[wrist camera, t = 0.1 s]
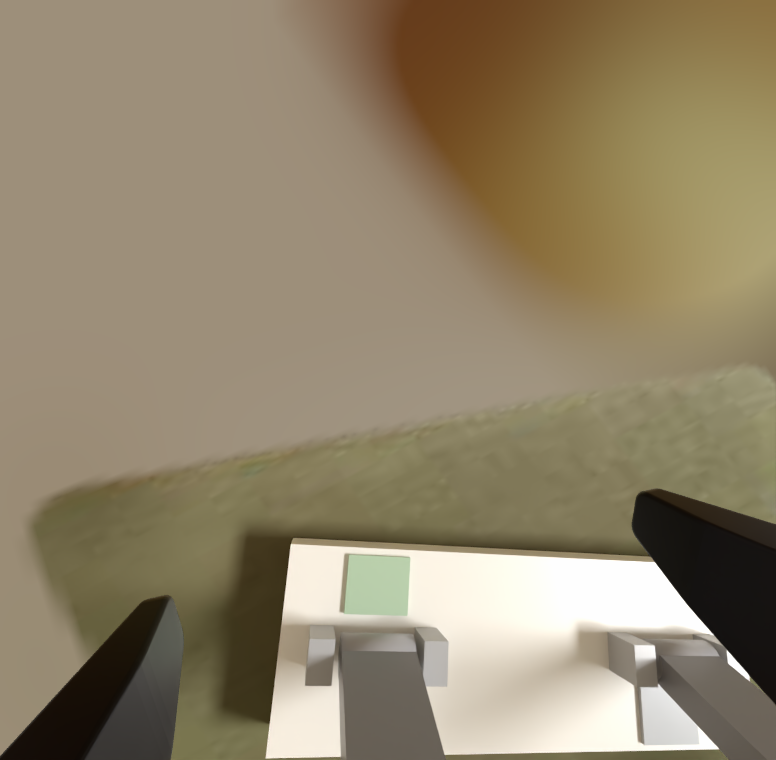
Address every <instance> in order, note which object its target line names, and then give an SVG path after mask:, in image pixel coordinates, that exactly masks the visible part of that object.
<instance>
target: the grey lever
mask: <svg viewBox="0 0 776 760" xmlns="http://www.w3.org/2000/svg"><path fill="white" fill-rule="evenodd" d="M642 640H644V641H646V642H648V643H650V644H653V645H655V653H656V666H657V679H658V684H659V685H660V686H661V687H662V688H663V690H664V691H665V692H666V693H667V694H668V695H669V696H670V697H671V698H672V699H673V700H674V701H675V702H676V703H677V704H678V706H679V707H680V708H681V709H682V710H683V711H684V712H685V713H686V714H687V715H688V716H689V717H690V718H691V719H692V720H693V722H694V723H695V724H696V725H697V726H698V727H699V728H700V729H701V730H702V731H703V732H704V733H705V734H706V735H707V736H708V738H709V739H710V740H711V741H712V742H713V743H714V744H715V745H716V746H717V747H718V748H719V749H720V750H721V751H722V752H723V754H724V755H725V756H726V757H727V758H728V759H729V760H776V705H775V704H774V703H773V702H772V701H771V699H770V698H769V697H768V696H767V695H766V694H764V693H763V692H762V691H761V690H760V689H758V688H757V687H756V686H755V685H753V684H752V683H751V682H750V681H749V680H747V679H746V678H745V677H744V676H743V675H741V674H740V673H739V672H738V671H737V670H735V669H734V668H733V667H732V666H731V665H729V664H728V663H727V662H726V661H725V660H723V659H722V658H721V657H720V656H719V654H718V653H717V651H716V650H715V648H714V647H713V646H712V645H711V644H710V643H708V642H707V641H704V640H684V639H642Z"/></svg>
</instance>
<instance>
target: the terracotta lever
mask: <svg viewBox="0 0 776 760" xmlns="http://www.w3.org/2000/svg"><path fill="white" fill-rule="evenodd" d="M338 679H339V710H340V748H341V760H446V758H445V755H444V751H443V747H442V744H441V740H440V736H439V733H438V729H437V725H436V722H435V718H434V714H433V711H432V707H431V703H430V700H429V696H428V692H427V689H426V685H425V681H424V678H423V674H422V670H421V667H420V663H419V659H418V656H417V652H416V642H415V638H414V635H413V634H402V633H356V632H341V635H340V642H339V654H338Z"/></svg>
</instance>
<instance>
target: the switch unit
mask: <svg viewBox="0 0 776 760" xmlns="http://www.w3.org/2000/svg"><path fill="white" fill-rule="evenodd" d="M341 632H356V633H402V634H413V635H414V638H415V642H416V652H417V656H418V659H419V663H420V667H421V670H422V674H423V678H424V681H425V685H426V689H427V692H428V696H429V700H430V703H431V707H432V711H433V714H434V718H435V722H436V725H437V729H438V733H439V736H440V740H441V744H442V747H443V751H444V755H452V754H502V753H552V752H602V751H652V750H702V749H719V748H718V747H717V746H716V745H715V744H714V743H713V742H712V741H711V740H710V739H709V738H708V736H707V735H706V734H705V733H704V732H703V731H702V730H701V729H700V728H699V727H698V726H697V725H696V724H695V723H694V722H693V720H692V719H691V718H690V717H689V716H688V715H687V714H686V713H685V712H684V711H683V710H682V709H681V708H680V707H679V706H678V704H677V703H676V702H675V701H674V700H673V699H672V698H671V697H670V696H669V695H668V694H667V693H666V692H665V691H664V690H663V688H662V687H661V686H660V685H659V684H658V679H657V666H656V653H655V645H653V644H650V643H648V642H646V641H644V640H642V639H684V640H704V641H707V642H708V643H710V644H711V645H712V646H713V647H714V648H715V650H716V651H717V653H718V654H719V656H720V657H721V658H722V659H723V660H725V661H726V662H727V663H728V664H729V665H731V666H732V667H733V668H734V669H735V670H737V671H738V672H739V673H740V674H741V675H743V676H744V677H745V678H746V679H747V680H749V675H748V673H747V672H746V671H745V670H744V669H743V668H742V667H741V666H740V664H739V663H738V662H737V661H736V660H735V659H734V658H733V657H732V655H731V654H730V653H729V652H728V651H727V650H726V649H725V648H724V646H723V645H722V644H721V643H720V642H719V641H718V640H717V638H716V637H715V636H714V635H713V634H712V633H711V632H710V631H709V629H708V628H707V627H706V626H705V625H704V624H703V623H702V622H701V620H700V619H699V618H698V617H697V616H696V615H695V614H694V612H693V611H692V610H691V609H690V608H689V607H688V605H687V604H686V603H685V602H684V600H683V599H682V598H681V597H680V595H679V594H678V593H677V591H676V590H675V589H674V587H673V586H672V585H671V583H670V582H669V581H668V579H667V578H666V577H665V575H664V574H663V573H662V571H661V570H660V569H659V567H658V566H657V565H656V563H655V562H654V561H653V559H652V558H651V557H649V556H630V555H611V554H592V553H573V552H554V551H535V550H516V549H498V548H479V547H460V546H441V545H422V544H403V543H384V542H365V541H346V540H327V539H308V538H293V540H292V542H291V547H290V556H289V564H288V573H287V582H286V590H285V599H284V607H283V616H282V624H281V633H280V641H279V650H278V658H277V667H276V675H275V684H274V693H273V701H272V710H271V718H270V727H269V735H268V744H267V752H266V758H303V757H341V748H340V710H339V679H338V654H339V642H340V635H341ZM749 681H750V680H749Z"/></svg>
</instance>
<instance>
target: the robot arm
mask: <svg viewBox="0 0 776 760" xmlns="http://www.w3.org/2000/svg"><path fill="white" fill-rule="evenodd" d="M632 530H633V533H634V535H635V537H636V538H637V540H638V541H639V542H640V544H641V545H642V546H643V548H644V549H645V550H646V551H647V553H648V554H649V555H650V557H651V558H652V559H653V561H654V562H655V563H656V565H657V566H658V567H659V569H660V570H661V571H662V573H663V574H664V575H665V577H666V578H667V579H668V581H669V582H670V583H671V585H672V586H673V587H674V589H675V590H676V591H677V593H678V594H679V595H680V597H681V598H682V599H683V600H684V602H685V603H686V604H687V605H688V607H689V608H690V609H691V610H692V611H693V612H694V614H695V615H696V616H697V617H698V618H699V619H700V620H701V622H702V623H703V624H704V625H705V626H706V627H707V628H708V629H709V631H710V632H711V633H712V634H713V635H714V636H715V637H716V638H717V640H718V641H719V642H720V643H721V644H722V645H723V646H724V648H725V649H726V650H727V651H728V652H729V653H730V654H731V655H732V657H733V658H734V659H735V660H736V661H737V662H738V663H739V664H740V666H741V667H742V668H743V669H744V670H745V671H746V672H747V673H748V675H749V676H750V677H751V678H752V679H753V680H754V681H755V683H756V684H757V685H758V686H759V687H760V688H761V689H762V690H763V692H764V693H765V694H766V695H767V696H768V697H769V698H770V699H771V701H772V702H773V703H774V704H775V705H776V524H773V523H770V522H766V521H763V520H760V519H757V518H753V517H750V516H747V515H744V514H740V513H737V512H734V511H731V510H727V509H724V508H721V507H718V506H714V505H711V504H708V503H705V502H701V501H698V500H695V499H692V498H688V497H685V496H682V495H679V494H675V493H672V492H669V491H666V490H662V489H651V490H646V491H642V492H640V493H639V494H638V495H637V496H636V500H635V507H634V513H633V519H632ZM183 647H184V636H183V630H182V626H181V623H180V620H179V616H178V613H177V610H176V606H175V603H174V600H173V598H172V597H171V596H169V595H164V596H160V597H155V598H150V599H147V600H144V601H143V602H141V603H140V604H139V605H138V606H137V607H136V608H135V610H134V611H133V612H132V613H131V614H130V615H129V616H128V617H127V618H126V619H125V620H124V622H123V623H122V624H121V625H120V626H119V627H118V628H117V629H116V630H115V631H114V632H113V634H112V635H111V636H110V637H109V638H108V639H107V640H106V641H105V642H104V643H103V644H102V646H101V647H100V648H99V649H98V650H97V651H96V652H95V653H94V654H93V655H92V656H91V658H90V659H89V660H88V661H87V662H86V663H85V664H84V665H83V666H82V667H81V668H80V670H79V671H78V672H77V673H76V674H75V675H74V676H73V677H72V678H71V679H70V681H69V682H68V683H67V684H66V685H65V686H64V687H63V688H62V689H61V690H60V691H59V692H58V694H57V695H56V696H55V697H54V698H53V699H52V700H51V701H50V702H49V703H48V705H47V706H46V707H45V708H44V709H43V710H42V711H41V712H40V713H39V714H38V715H37V716H36V718H35V719H34V720H33V721H32V722H31V723H30V724H29V725H28V726H27V727H26V728H25V730H24V731H23V732H22V733H21V734H20V735H19V736H18V737H17V738H16V739H15V740H14V742H13V743H12V744H11V745H10V746H9V747H8V748H7V749H6V750H5V751H4V753H3V754H2V755H1V756H0V760H171V754H172V748H173V740H174V731H175V722H176V713H177V703H178V694H179V685H180V675H181V666H182V657H183Z"/></svg>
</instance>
